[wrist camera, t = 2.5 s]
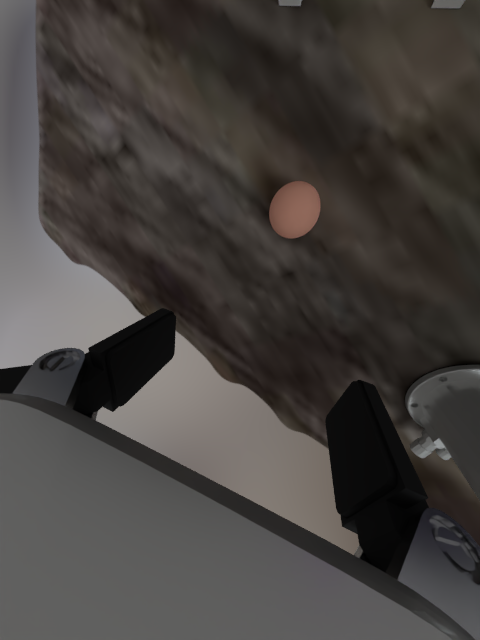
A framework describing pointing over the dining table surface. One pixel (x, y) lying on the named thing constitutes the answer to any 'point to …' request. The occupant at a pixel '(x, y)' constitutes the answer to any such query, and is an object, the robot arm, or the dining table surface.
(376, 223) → the dining table surface
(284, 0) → the bridge
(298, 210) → the ball
